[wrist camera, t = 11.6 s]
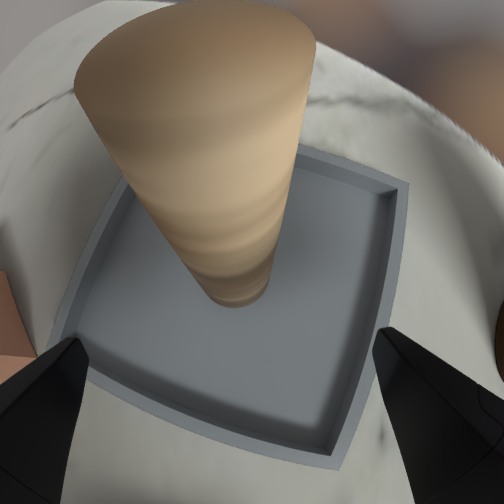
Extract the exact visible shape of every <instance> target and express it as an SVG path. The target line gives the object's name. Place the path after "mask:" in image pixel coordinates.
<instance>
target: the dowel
mask: <svg viewBox="0 0 504 504" xmlns="http://www.w3.org/2000/svg"><path fill="white" fill-rule="evenodd" d="M315 52H316V41H315V38H314V36H313V34H312V32H311V31H310V29H309V28H308V27H307V26H306V25H305V24H304V23H303V22H302V21H301V20H299V19H298V18H297V17H295V16H293V15H292V14H290V13H288V12H286V11H284V10H281V9H279V8H276V7H273V6H270V5H267V4H263V3H258V2H254V1H247V0H196V1H190V2H184V3H179V4H175V5H171V6H167V7H164V8H160V9H157V10H155V11H152V12H149V13H147V14H144V15H142V16H139V17H137V18H135V19H133V20H131V21H129V22H127V23H126V24H124V25H122V26H120V27H119V28H117V29H116V30H114V31H113V32H111V33H110V34H108V35H107V36H106V37H105V38H103V39H102V40H101V41H100V42H99V43H98V44H97V45H96V46H95V47H94V48H93V49H92V50H91V51H90V52H89V53H88V54H87V55H86V57H85V58H84V60H83V61H82V63H81V64H80V66H79V68H78V70H77V72H76V76H75V79H74V91H75V95H76V97H77V99H78V101H79V103H80V104H81V106H82V108H83V110H84V111H85V113H86V115H87V117H88V118H89V120H90V122H91V124H92V125H93V127H94V129H95V130H96V132H97V134H98V135H99V137H100V139H101V140H102V142H103V144H104V145H105V147H106V148H107V150H108V152H109V153H110V155H111V157H112V158H113V160H114V161H115V163H116V165H117V166H118V168H119V169H120V171H121V172H122V174H123V176H124V177H125V179H126V180H127V182H128V183H129V185H130V186H131V188H132V189H133V191H134V193H135V194H136V196H137V197H138V199H139V200H140V202H141V203H142V205H143V206H144V208H145V209H146V211H147V212H148V214H149V215H150V216H151V218H152V219H153V221H154V222H155V224H156V225H157V227H158V228H159V230H160V231H161V232H162V234H163V235H164V237H165V238H166V240H167V241H168V242H169V244H170V245H171V247H172V248H173V249H174V251H175V252H176V254H177V255H178V256H179V258H180V259H181V261H182V262H183V263H184V265H185V266H186V268H187V269H188V270H189V272H190V273H191V274H192V276H193V277H194V278H195V280H196V281H197V282H198V284H199V285H200V286H201V288H202V289H203V290H204V292H205V293H206V294H207V296H208V297H209V298H210V299H211V300H212V301H214V302H215V303H217V304H219V305H221V306H224V307H228V308H241V307H245V306H248V305H250V304H252V303H254V302H255V301H256V300H258V299H259V298H260V297H261V296H262V294H263V293H264V292H265V290H266V288H267V286H268V282H269V278H270V274H271V269H272V265H273V261H274V256H275V252H276V247H277V243H278V238H279V233H280V229H281V224H282V220H283V215H284V210H285V206H286V201H287V196H288V191H289V187H290V182H291V177H292V172H293V167H294V162H295V157H296V152H297V147H298V142H299V137H300V132H301V127H302V122H303V117H304V112H305V107H306V101H307V96H308V91H309V85H310V80H311V74H312V69H313V63H314V58H315Z"/></svg>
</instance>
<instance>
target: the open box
mask: <svg viewBox="0 0 504 504" xmlns="http://www.w3.org/2000/svg"><path fill="white" fill-rule="evenodd" d="M36 358H37V356H36V354H35V351H34V349H33V347H32V345H31V342H30V340H29V338H28V335H27V333H26V330H25V328H24V325H23V323H22V320H21V318H20V315H19V312H18V309H17V307H16V304H15V301H14V298H13V295H12V292H11V289H10V285H9V282H8V279H7V275H6V273H5V272H3V271H1V270H0V384H1V383H3V382H4V381H6V380H7V379H8V378H10V377H11V376H12V375H14V374H15V373H17V372H18V371H19V370H21V369H22V368H24V367H25V366H26V365H28V364H29V363H31V362H32V361H33V360H35V359H36Z"/></svg>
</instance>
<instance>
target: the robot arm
mask: <svg viewBox="0 0 504 504" xmlns="http://www.w3.org/2000/svg"><path fill="white" fill-rule="evenodd" d="M372 356H373V360H374V364H375V368H376V372H377V377H378V381H379V385H380V390H381V394H382V398H383V401H384V404H385V407H386V410H387V412H388V415H389V418H390V421H391V424H392V427H393V430H394V433H395V436H396V440H397V443H398V446H399V449H400V452H401V456H402V459H403V462H404V466H405V469H406V472H407V476H408V479H409V483H410V487H411V490H412V494H413V498H414V502H415V504H504V400H503V399H501V398H499V397H498V396H496V395H495V394H493V393H492V392H490V391H488V390H487V389H485V388H484V387H482V386H481V385H479V384H477V383H476V382H475V381H473V380H472V379H470V378H469V377H467V376H466V375H464V374H463V373H461V372H460V371H458V370H457V369H455V368H454V367H452V366H451V365H449V364H448V363H446V362H445V361H443V360H442V359H440V358H439V357H437V356H436V355H434V354H433V353H431V352H430V351H428V350H427V349H425V348H424V347H422V346H421V345H419V344H418V343H416V342H414V341H413V340H411V339H410V338H408V337H407V336H405V335H404V334H402V333H401V332H399V331H398V330H396V329H395V328H393V327H384V328H380V329H378V331H377V333H376V337H375V341H374V344H373V348H372ZM88 367H89V356H88V354H87V352H86V350H85V348H84V346H83V344H82V341H81V340H80V339H79V338H78V337H66V338H65V339H63V340H62V341H61V342H59V343H58V344H56V345H55V346H53V347H52V348H50V349H49V350H48V351H46V352H45V353H43V354H42V355H40V356H39V357H38V358H36V359H35V360H33V361H32V362H31V363H29V364H28V365H26V366H25V367H24V368H22V369H21V370H19V371H18V372H17V373H15V374H14V375H12V376H11V377H10V378H8V379H7V380H6V381H4V382H3V383H1V384H0V504H60V501H61V494H62V488H63V482H64V476H65V471H66V466H67V461H68V456H69V451H70V447H71V442H72V438H73V434H74V430H75V426H76V422H77V418H78V414H79V411H80V407H81V403H82V398H83V392H84V387H85V382H86V376H87V371H88Z"/></svg>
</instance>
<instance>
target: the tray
mask: <svg viewBox="0 0 504 504" xmlns="http://www.w3.org/2000/svg"><path fill="white" fill-rule="evenodd" d="M408 192H409V183H407V182H404V181H402V180H400V179H397V178H395V177H392V176H390V175H387V174H385V173H382V172H380V171H377V170H374V169H372V168H369V167H366V166H364V165H361V164H358V163H355V162H353V161H350V160H347V159H344V158H341V157H338V156H335V155H332V154H329V153H326V152H323V151H320V150H317V149H313V148H310V147H307V146H304V145H300V144H298V147H297V152H296V157H295V162H294V167H293V172H292V177H291V182H290V187H289V191H288V196H287V201H286V206H285V210H284V215H283V220H282V224H281V229H280V233H279V238H278V243H277V247H276V252H275V256H274V261H273V265H272V269H271V274H270V278H269V282H268V286H267V288H266V290H265V292H264V293H263V294H262V296H261V297H260V298H259V299H258V300H256V301H255V302H254V303H252V304H250V305H248V306H245V307H241V308H228V307H224V306H221V305H219V304H217V303H215V302H214V301H212V300H211V299H210V298H209V297H208V296H207V294H206V293H205V292H204V290H203V289H202V288H201V286H200V285H199V284H198V282H197V281H196V280H195V278H194V277H193V276H192V274H191V273H190V272H189V270H188V269H187V268H186V266H185V265H184V263H183V262H182V261H181V259H180V258H179V256H178V255H177V254H176V252H175V251H174V249H173V248H172V247H171V245H170V244H169V242H168V241H167V240H166V238H165V237H164V235H163V234H162V232H161V231H160V230H159V228H158V227H157V225H156V224H155V222H154V221H153V219H152V218H151V216H150V215H149V214H148V212H147V211H146V209H145V208H144V206H143V205H142V203H141V202H140V200H139V199H138V197H137V196H136V194H135V193H134V191H133V189H132V188H131V186H130V185H129V183H128V182H127V180H126V179H125V177H124V176H123V175H122V176H121V178H120V180H119V181H118V183H117V185H116V187H115V188H114V190H113V192H112V194H111V196H110V197H109V199H108V201H107V203H106V205H105V207H104V209H103V211H102V213H101V214H100V216H99V218H98V220H97V222H96V224H95V226H94V228H93V230H92V232H91V235H90V237H89V239H88V241H87V243H86V245H85V247H84V249H83V252H82V254H81V256H80V258H79V261H78V263H77V265H76V268H75V270H74V272H73V275H72V277H71V280H70V282H69V285H68V287H67V290H66V292H65V295H64V298H63V300H62V303H61V306H60V308H59V311H58V314H57V317H56V320H55V323H54V326H53V329H52V332H51V335H50V338H49V342H48V345H47V348H46V351H48V350H49V349H50V348H52V347H53V346H55V345H56V344H58V343H59V342H61V341H62V340H63V339H65V338H66V337H78V338H79V339H80V340H81V341H82V344H83V346H84V348H85V350H86V352H87V354H88V356H89V367H88V371H87V376H86V379H87V380H89V381H90V382H92V383H94V384H95V385H97V386H99V387H100V388H102V389H104V390H106V391H107V392H109V393H111V394H113V395H114V396H116V397H118V398H120V399H122V400H124V401H126V402H128V403H129V404H131V405H133V406H135V407H137V408H139V409H141V410H143V411H145V412H148V413H150V414H152V415H154V416H156V417H158V418H160V419H163V420H165V421H167V422H169V423H172V424H174V425H176V426H179V427H181V428H184V429H186V430H189V431H191V432H194V433H196V434H199V435H201V436H204V437H207V438H210V439H212V440H215V441H218V442H221V443H224V444H227V445H230V446H233V447H236V448H239V449H243V450H246V451H249V452H253V453H256V454H260V455H264V456H268V457H271V458H275V459H280V460H284V461H288V462H293V463H297V464H302V465H307V466H312V467H318V468H324V469H330V470H337V471H339V469H340V467H341V465H342V462H343V460H344V458H345V456H346V453H347V451H348V449H349V446H350V444H351V441H352V439H353V436H354V434H355V431H356V429H357V426H358V424H359V421H360V418H361V415H362V413H363V410H364V407H365V404H366V401H367V398H368V395H369V392H370V389H371V386H372V383H373V380H374V377H375V373H376V368H375V364H374V360H373V356H372V348H373V344H374V341H375V337H376V333H377V331H378V329H380V328H384V327H388V325H389V320H390V316H391V311H392V307H393V302H394V297H395V292H396V287H397V281H398V275H399V269H400V263H401V256H402V250H403V242H404V234H405V225H406V216H407V205H408Z"/></svg>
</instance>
